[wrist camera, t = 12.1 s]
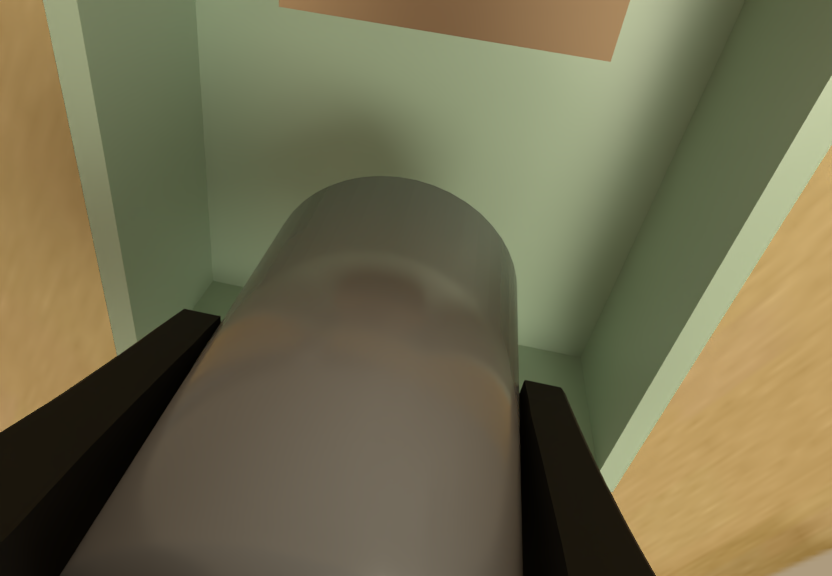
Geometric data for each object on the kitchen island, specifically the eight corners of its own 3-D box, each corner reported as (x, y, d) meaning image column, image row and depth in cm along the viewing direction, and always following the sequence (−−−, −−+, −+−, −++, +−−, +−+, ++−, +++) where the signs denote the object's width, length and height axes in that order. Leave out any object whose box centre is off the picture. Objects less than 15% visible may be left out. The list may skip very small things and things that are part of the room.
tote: (590, 361, 19) (612, 492, 15) (203, 281, 19) (124, 389, 15) (968, -425, 9) (1341, -664, 5) (137, -590, 9) (-158, -955, 5)
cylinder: (479, 400, 13) (458, 791, 8) (266, 349, 13) (86, 706, 8) (552, 213, 10) (608, 630, 5) (279, 146, 10) (-4, 486, 5)
